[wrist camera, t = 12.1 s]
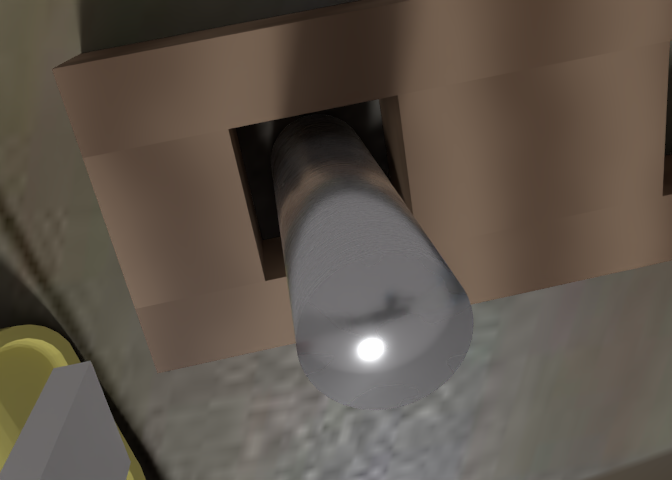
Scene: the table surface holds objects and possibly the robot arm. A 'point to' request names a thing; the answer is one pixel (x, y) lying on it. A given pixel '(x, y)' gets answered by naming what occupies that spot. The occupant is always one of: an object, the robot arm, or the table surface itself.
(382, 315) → the steel pin
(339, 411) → the table surface
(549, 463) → the table surface
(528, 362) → the table surface
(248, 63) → the brown block with holes
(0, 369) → the plastic component
